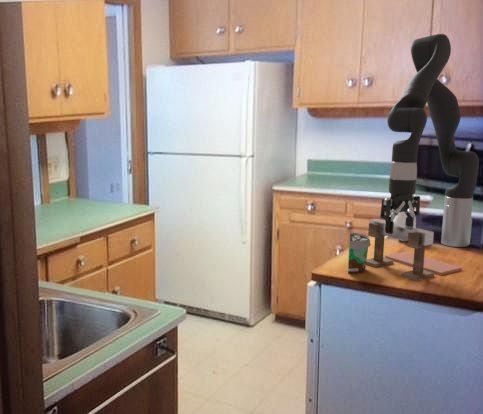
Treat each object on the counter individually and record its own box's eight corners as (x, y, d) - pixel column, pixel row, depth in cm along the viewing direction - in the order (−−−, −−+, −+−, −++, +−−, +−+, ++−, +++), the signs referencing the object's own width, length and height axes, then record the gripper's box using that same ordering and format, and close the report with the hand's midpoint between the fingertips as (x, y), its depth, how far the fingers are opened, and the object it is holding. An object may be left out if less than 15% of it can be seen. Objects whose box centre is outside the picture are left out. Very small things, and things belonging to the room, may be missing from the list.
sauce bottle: (418, 242, 195) (422, 193, 192) (399, 243, 193) (402, 194, 190) (407, 237, 202) (410, 190, 199) (388, 238, 201) (391, 190, 197)
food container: (369, 276, 156) (371, 243, 154) (347, 275, 157) (349, 241, 155) (368, 264, 167) (370, 233, 166) (348, 263, 169) (349, 231, 167)
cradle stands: (380, 259, 173) (383, 219, 171) (433, 276, 157) (437, 232, 154) (363, 263, 169) (365, 222, 166) (415, 280, 152) (418, 235, 150)
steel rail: (376, 229, 170) (377, 218, 170) (432, 244, 153) (433, 232, 152) (368, 230, 168) (369, 219, 168) (424, 245, 151) (425, 233, 151)
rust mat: (405, 253, 180) (406, 251, 180) (461, 270, 163) (462, 267, 163) (385, 258, 175) (385, 255, 175) (440, 275, 158) (440, 272, 157)
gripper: (408, 174, 164) (405, 226, 167) (376, 177, 157) (372, 231, 160) (429, 177, 158) (425, 231, 161) (396, 180, 151) (392, 237, 154)
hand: (399, 231), depth 160 cm, fingers open, 8 cm apart
